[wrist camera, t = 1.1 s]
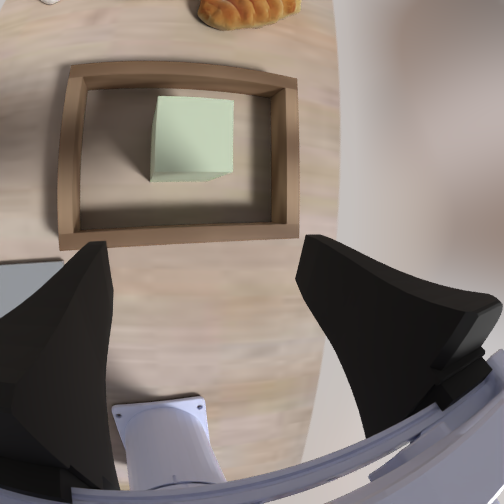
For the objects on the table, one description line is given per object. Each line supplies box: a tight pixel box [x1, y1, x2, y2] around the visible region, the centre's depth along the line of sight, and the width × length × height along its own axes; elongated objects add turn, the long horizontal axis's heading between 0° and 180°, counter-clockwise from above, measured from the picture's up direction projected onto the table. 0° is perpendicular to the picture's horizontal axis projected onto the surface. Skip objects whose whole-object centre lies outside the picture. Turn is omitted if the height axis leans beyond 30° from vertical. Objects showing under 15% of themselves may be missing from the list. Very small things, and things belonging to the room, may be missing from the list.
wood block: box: [150, 96, 234, 182], centre depth 16 cm, size 4×4×6 cm
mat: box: [0, 261, 64, 318], centre depth 16 cm, size 10×8×1 cm
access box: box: [57, 61, 300, 251], centre depth 18 cm, size 12×16×2 cm
